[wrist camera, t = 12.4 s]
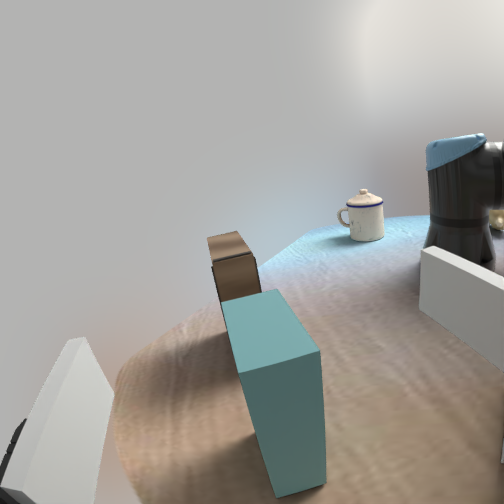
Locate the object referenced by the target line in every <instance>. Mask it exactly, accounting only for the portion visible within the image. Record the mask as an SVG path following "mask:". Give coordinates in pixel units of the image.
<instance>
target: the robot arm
mask: <svg viewBox="0 0 504 504" xmlns="http://www.w3.org/2000/svg"><path fill="white" fill-rule="evenodd" d="M486 141H487V139H486V137H485V135H484V134H482V133H481V134H473V135H466V136H459V137H453V138H447V139H441V140H436V141H432V142H430V143H429V144H428V145H427V147H426V162H427V167H426V170H427V171H428V181H429V182H428V183H429V199H430V200H429V202H430V226H429V230H428V233H427V237H426V240H425V243H424V246H423V249H422V250H421V270H420V296H419V310H421V311H422V312H424V313H425V314H426V315H428V316H429V317H431V318H432V319H433V320H435V321H436V322H437V323H439V324H440V325H442V326H443V327H444V328H446V329H447V330H448V331H450V332H451V333H452V334H454V335H455V336H456V337H458V338H459V339H460V340H462V341H463V342H464V343H466V344H467V345H468V346H470V347H471V348H472V349H474V350H475V351H476V352H478V353H479V354H480V355H482V356H483V357H484V358H485V359H487V360H488V361H489V362H491V363H492V364H493V365H494V366H496V367H497V368H498V369H500V370H501V371H502V372H503V373H504V277H502V276H500V275H498V274H496V273H494V269H495V260H496V255H495V250H494V245H493V241H492V236H491V232H490V228H489V210H504V141H503V142H486ZM114 395H115V393H114V392H113V390H112V388H111V386H110V385H109V383H108V381H107V379H106V377H105V375H104V374H103V372H102V370H101V368H100V366H99V364H98V362H97V360H96V358H95V356H94V354H93V352H92V351H91V348H90V346H89V344H88V342H87V340H86V338H85V337H82V338H76V339H71V340H68V341H67V343H66V345H65V347H64V348H63V350H62V352H61V354H60V355H59V357H58V359H57V361H56V363H55V364H54V366H53V368H52V370H51V372H50V374H49V376H48V378H47V380H46V381H45V383H44V385H43V387H42V389H41V391H40V394H39V396H38V398H37V399H36V401H35V403H34V406H33V408H32V410H31V412H30V414H29V416H28V418H27V419H24V421H23V422H22V423H21V424H20V425H19V426H18V427H17V429H16V430H15V432H14V435H13V437H12V439H11V444H9V446H8V448H7V454H5V456H4V458H3V461H2V463H1V466H0V504H94V500H95V493H96V486H97V480H98V474H99V468H100V462H101V456H102V451H103V446H104V441H105V436H106V430H107V426H108V421H109V417H110V412H111V408H112V404H113V399H114Z"/></svg>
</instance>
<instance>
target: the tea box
mask: <svg viewBox="0 0 504 504" xmlns="http://www.w3.org/2000/svg"><path fill="white" fill-rule="evenodd" d="M501 463H504V440H503V449H502V459H501Z"/></svg>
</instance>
